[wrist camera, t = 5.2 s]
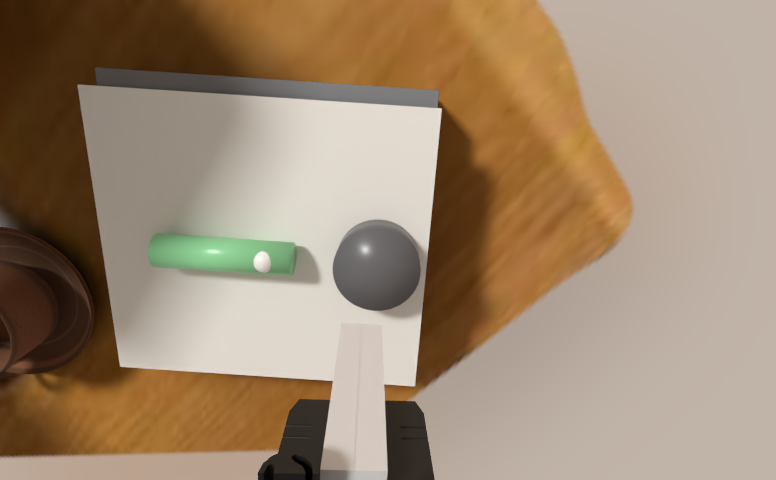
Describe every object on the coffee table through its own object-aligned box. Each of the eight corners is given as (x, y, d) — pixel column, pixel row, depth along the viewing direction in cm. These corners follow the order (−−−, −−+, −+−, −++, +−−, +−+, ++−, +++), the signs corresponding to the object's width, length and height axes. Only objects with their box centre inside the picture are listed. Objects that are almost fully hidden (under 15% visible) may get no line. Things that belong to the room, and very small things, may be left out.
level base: (162, 336, 34) (135, 365, 31) (132, 72, 28) (94, 67, 24) (408, 347, 35) (412, 376, 31) (431, 92, 29) (439, 90, 25)
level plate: (133, 354, 30) (98, 387, 27) (95, 85, 25) (45, 82, 21) (414, 372, 30) (416, 408, 27) (439, 108, 25) (446, 108, 21)
